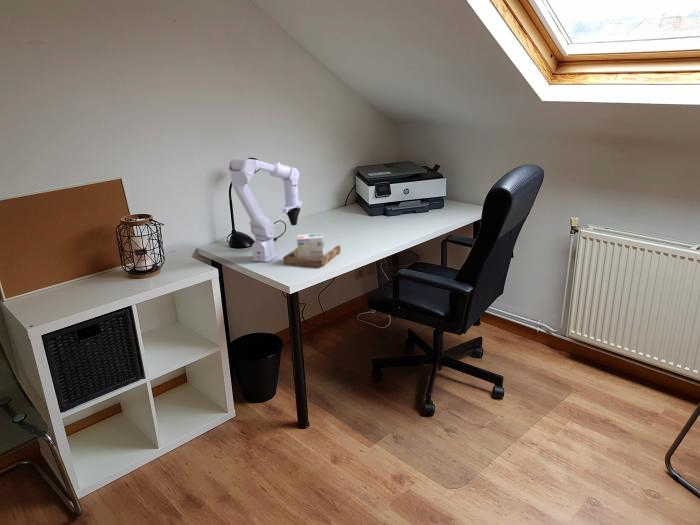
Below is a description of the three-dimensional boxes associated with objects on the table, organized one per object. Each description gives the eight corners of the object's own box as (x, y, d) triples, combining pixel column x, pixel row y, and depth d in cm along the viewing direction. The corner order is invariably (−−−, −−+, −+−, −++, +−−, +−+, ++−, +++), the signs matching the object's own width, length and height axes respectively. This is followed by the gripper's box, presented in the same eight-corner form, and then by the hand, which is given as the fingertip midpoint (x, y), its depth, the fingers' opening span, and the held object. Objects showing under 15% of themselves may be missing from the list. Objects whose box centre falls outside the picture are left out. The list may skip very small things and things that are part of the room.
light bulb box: (325, 257, 244) (323, 232, 240) (324, 262, 238) (322, 237, 234) (299, 258, 244) (297, 233, 240) (298, 263, 238) (296, 238, 234)
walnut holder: (321, 267, 231) (321, 260, 230) (283, 264, 238) (283, 257, 237) (340, 252, 249) (340, 245, 248) (305, 249, 255) (304, 242, 254)
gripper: (292, 198, 243) (294, 230, 247) (307, 191, 255) (309, 221, 260) (277, 198, 245) (279, 228, 250) (292, 190, 258) (295, 220, 262)
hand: (293, 224), depth 255 cm, fingers closed
